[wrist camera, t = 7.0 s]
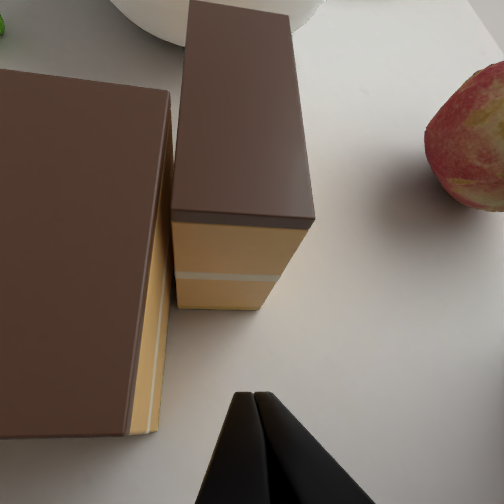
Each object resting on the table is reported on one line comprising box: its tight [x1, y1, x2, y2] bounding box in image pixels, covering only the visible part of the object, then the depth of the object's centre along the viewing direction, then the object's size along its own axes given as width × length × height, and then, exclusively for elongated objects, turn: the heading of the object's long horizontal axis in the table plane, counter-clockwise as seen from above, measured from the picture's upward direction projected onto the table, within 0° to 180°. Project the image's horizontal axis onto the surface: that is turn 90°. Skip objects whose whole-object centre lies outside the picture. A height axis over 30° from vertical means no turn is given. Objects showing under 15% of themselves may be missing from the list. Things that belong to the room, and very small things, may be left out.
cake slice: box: [170, 0, 315, 310], centre depth 15 cm, size 12×4×8 cm, turn 2°
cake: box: [0, 69, 174, 440], centre depth 11 cm, size 9×8×8 cm
